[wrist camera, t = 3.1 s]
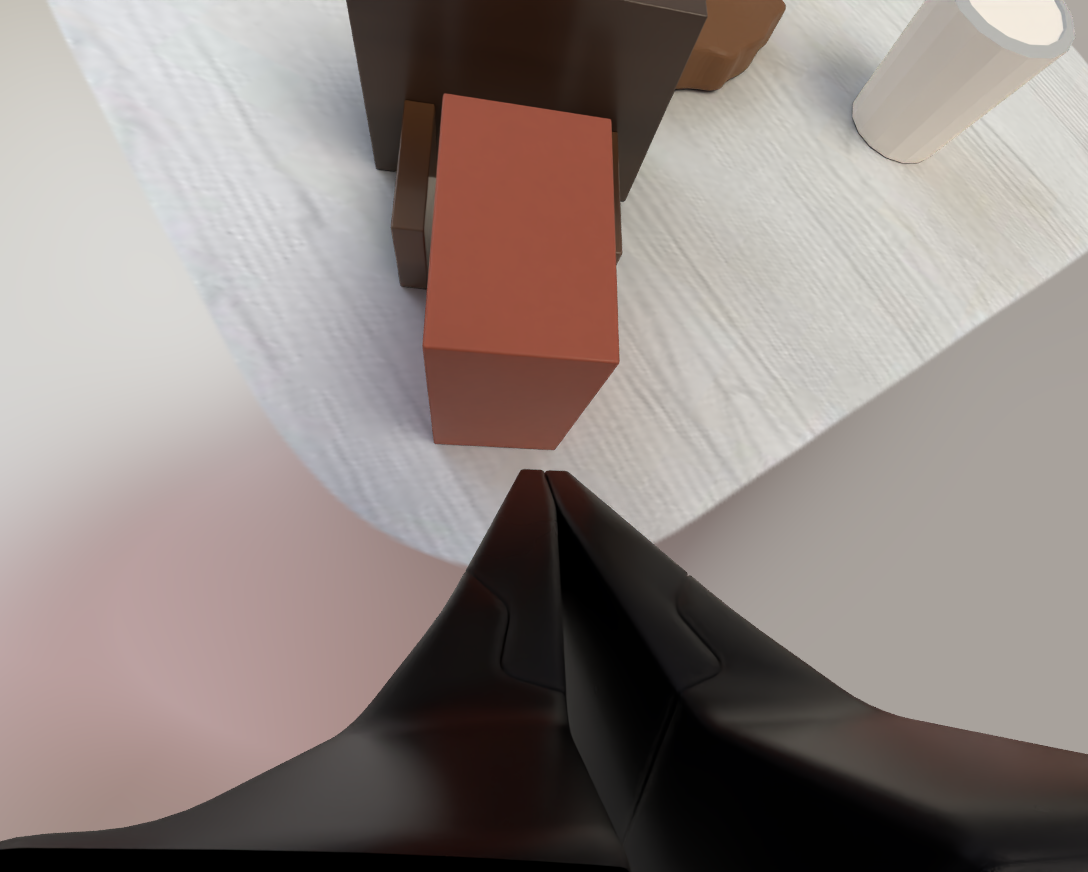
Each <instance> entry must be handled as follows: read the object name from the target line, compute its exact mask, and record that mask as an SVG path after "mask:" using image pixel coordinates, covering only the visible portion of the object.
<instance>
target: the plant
mask: <svg viewBox="0 0 1088 872" xmlns="http://www.w3.org/2000/svg"><path fill="white" fill-rule="evenodd" d="M706 5H707V15H708V17H707V19H706V22H705V24H704V26H703V28H702V30H701V33H700V35H699V37H698V39H697V42H696V44H695V46H694V48H693V51H692V53H691V55H690V57H689V59H688V62H687V64H686V66H685V68H684V71H683V73H682V75H681V77H680V80H679V82H678V84H677V86H676V88H675V89H681V88H693V89H701V90H707V91H713V90H717V89H720V88H721V87H722V86H723V85H724V83H725V82H726V81H727V80H729V79H731V78H733V77H736V76H737V75H739V74H740V73H742V72H743V71H744V70H746V69H747V68H748V66H749V65H750V64H751V62H752V60H753V59H754V57H755V55H756V53H757V52H758V50H759V49H760V48H762V47H763V46H764V45H765V44H766V43H767V41H768V40H769V38H770V36H771V34H772V33H773V31H774V29H775V27H776V26H777V24H778V22H779V20H780V19H781V17H782V15H783V13H784V11H785V9H786V5H785V3H784V2H783V1H782V0H706Z"/></svg>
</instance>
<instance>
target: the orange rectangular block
mask: <svg viewBox="0 0 1088 872" xmlns="http://www.w3.org/2000/svg"><path fill="white" fill-rule="evenodd" d="M422 347H423V355H424V364H425V372H426V380H427V389H428V397H429V406H430V414H431V423H432V431H433V440H434V443H435V444H451V445H470V446H489V447H508V448H527V449H546V450H555V449H556V447H557V446H558V445H559V443H560V442H561V441H562V439H563V438H564V437H565V435H566V434H567V433H568V431H569V430H570V429H571V427H572V426H573V424H574V423H575V422H576V420H577V419H578V418H579V416H580V415H581V414H582V412H583V411H584V410H585V408H586V407H587V406H588V404H589V403H590V402H591V400H592V399H593V398H594V396H595V395H596V394H597V392H598V391H599V390H600V388H601V387H602V385H603V384H604V383H605V381H606V380H607V379H608V377H609V376H610V375H611V373H612V372H613V371H614V369H615V368H616V367H617V365H618V364H619V334H618V304H617V274H616V244H615V214H614V184H613V154H612V124H611V120H610V119H607V118H600V117H594V116H588V115H581V114H575V113H568V112H562V111H556V110H549V109H543V108H536V107H530V106H523V105H517V104H511V103H504V102H498V101H491V100H485V99H479V98H472V97H466V96H459V95H453V94H447V93H445V94H444V95H443V99H442V112H441V124H440V136H439V148H438V161H437V173H436V185H435V198H434V210H433V222H432V234H431V247H430V259H429V271H428V283H427V296H426V308H425V320H424V333H423V345H422Z"/></svg>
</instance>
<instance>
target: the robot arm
mask: <svg viewBox="0 0 1088 872" xmlns="http://www.w3.org/2000/svg"><path fill="white" fill-rule="evenodd" d="M0 872H1088V754H1083V753H1078V752H1073V751H1068V750H1063V749H1058V748H1053V747H1048V746H1043V745H1038V744H1033V743H1028V742H1023V741H1018V740H1013V739H1008V738H1003V737H998V736H993V735H988V734H983V733H978V732H973V731H968V730H963V729H958V728H953V727H948V726H943V725H938V724H934V723H929V722H924V721H919V720H913V719H909V718H905V717H900V716H897V715H894V714H891V713H888V712H885V711H882V710H880V709H878V708H876V707H874V706H871V705H869V704H867V703H865V702H863V701H861V700H860V699H858V698H856V697H854V696H852V695H851V694H849V693H848V692H846V691H845V690H843V689H842V688H840V687H839V686H837V685H836V684H835V683H833V682H831V681H830V680H829V679H828V678H826V677H825V676H823V675H822V674H821V673H819V672H818V671H816V670H815V669H813V668H812V667H811V666H809V665H808V664H807V663H805V662H804V661H802V660H801V659H800V658H798V657H797V656H795V655H794V654H793V653H791V652H789V651H788V650H787V649H786V648H784V647H783V646H781V645H780V644H778V643H777V642H775V641H774V640H773V639H771V638H770V637H769V636H767V635H766V634H765V633H763V632H762V631H760V630H759V629H758V628H756V627H755V626H754V625H752V624H751V623H750V622H748V621H747V620H746V619H744V618H743V617H741V616H740V615H739V614H738V613H736V612H735V611H734V610H732V609H731V608H730V607H728V606H727V605H726V604H725V603H724V602H722V601H721V600H720V599H719V598H717V597H716V596H715V595H714V594H712V593H711V592H709V590H707V589H706V588H705V587H704V586H703V585H701V584H700V583H699V582H698V581H697V580H696V579H694V578H693V577H692V576H687V572H686V571H685V570H683V569H682V568H681V567H680V566H679V565H678V564H676V563H675V562H674V561H673V560H672V559H670V558H669V557H668V556H667V555H666V554H665V553H663V552H662V551H661V550H660V549H659V548H657V547H656V546H655V545H654V544H653V543H652V542H650V541H649V540H648V539H647V538H646V537H644V536H643V535H642V534H641V533H640V532H639V531H637V530H636V529H635V528H634V527H633V526H631V525H630V524H629V523H628V522H627V521H626V520H624V519H623V518H622V517H621V516H620V515H618V514H617V513H616V512H615V511H614V510H613V509H611V508H610V507H609V506H608V505H607V504H605V503H604V502H603V501H602V500H601V499H600V498H598V497H597V496H596V495H595V494H594V493H592V492H591V491H590V490H589V489H588V488H587V487H585V486H584V485H583V484H582V483H581V482H579V481H578V480H577V479H576V478H575V477H574V476H572V475H571V474H570V473H569V472H567V471H552V470H549V471H546V472H545V473H544V471H542V470H530V469H523V470H521V471H520V472H519V474H518V476H517V478H516V480H515V482H514V483H513V485H512V487H511V489H510V491H509V493H508V494H507V496H506V498H505V500H504V502H503V504H502V505H501V507H500V509H499V511H498V513H497V514H496V516H495V518H494V520H493V522H492V524H491V525H490V527H489V529H488V531H487V533H486V535H485V536H484V538H483V540H482V542H481V544H480V546H479V547H478V549H477V551H476V553H475V555H474V557H473V558H472V560H471V562H470V564H469V566H468V567H467V569H466V572H465V573H464V574H463V576H462V578H461V580H460V582H459V584H458V585H457V587H456V589H455V590H454V592H453V594H452V595H451V597H450V599H449V600H448V602H447V604H446V605H445V607H444V608H443V610H442V611H441V613H440V614H439V616H438V617H437V618H436V620H435V621H434V623H433V624H432V625H431V627H430V628H429V629H428V631H427V632H426V634H425V635H424V636H423V637H422V639H421V640H420V641H419V642H418V644H417V645H416V646H415V647H414V649H413V650H412V651H411V653H410V654H409V655H408V656H407V658H406V659H405V660H404V661H403V663H402V664H401V665H400V667H399V668H398V669H397V670H396V672H395V673H394V674H393V675H392V677H391V678H390V679H389V680H388V682H387V683H386V684H385V686H384V687H383V688H382V690H381V691H380V692H379V693H378V694H377V696H376V697H375V698H374V700H373V701H372V702H371V703H370V704H369V705H368V707H367V708H366V709H365V710H364V711H363V713H362V714H361V715H360V716H359V717H358V718H357V719H356V720H355V721H354V722H353V723H351V724H350V725H349V726H348V727H347V728H346V729H345V730H343V731H342V732H341V733H339V734H338V735H337V736H335V737H333V738H331V739H330V740H328V741H326V742H324V743H322V744H320V745H318V746H316V747H314V748H312V749H310V750H308V751H306V752H304V753H302V754H300V755H298V756H296V757H294V758H292V759H290V760H288V761H286V762H284V763H282V764H280V765H278V766H276V767H274V768H272V769H270V770H268V771H266V772H264V773H262V774H260V775H258V776H256V777H254V778H252V779H250V780H248V781H246V782H245V783H242V784H240V785H239V786H237V787H235V788H233V789H231V790H229V791H227V792H225V793H223V794H221V795H219V796H217V797H215V798H213V799H211V800H209V801H207V802H204V803H202V804H200V805H197V806H195V807H193V808H191V809H188V810H186V811H183V812H180V813H177V814H174V815H171V816H168V817H165V818H162V819H159V820H156V821H151V822H147V823H142V824H138V825H133V826H129V827H124V828H116V829H108V830H99V831H86V832H69V833H53V834H40V835H32V836H24V837H16V838H12V839H8V840H4V841H1V842H0Z"/></svg>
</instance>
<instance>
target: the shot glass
mask: <svg viewBox="0 0 1088 872" xmlns="http://www.w3.org/2000/svg"><path fill="white" fill-rule="evenodd" d="M1074 37H1075V30H1074V23H1073V16H1072V14H1071V12H1070V11H1069V9H1068V7H1067V5H1066V3H1065V2H1064V0H925V1H924V2H923V4H922V5H921V7H920V8H919V10H918V11H917V12H916V14H915V15H914V17H913V18H912V19H911V21H910V22H909V24H908V25H907V27H906V28H905V29H904V31H903V32H902V34H901V35H900V37H899V38H898V39H897V41H896V42H895V44H894V45H893V46H892V48H891V49H890V51H889V52H888V54H887V55H886V56H885V58H884V59H883V61H882V62H881V64H880V65H879V66H878V68H877V69H876V71H875V72H874V73H873V75H872V76H871V78H870V79H869V81H868V82H867V83H866V85H865V86H864V88H863V89H862V90H861V92H860V93H859V95H858V96H857V98H856V99H855V101H854V102H853V115H852V117H853V120H854V122H855V125H856V127H857V130H858V132H859V133H860V135H861V136H862V137H863V138H864V140H865V141H866V142H867V143H868V144H869V146H870V147H872V148H873V149H875V150H876V151H878V152H879V153H880V154H882V155H883V156H885V157H886V158H889V159H892V160H895V161H898V162H901V163H919V162H921V161H923V160H925V159H927V158H929V157H931V156H932V155H933V154H935V153H936V152H937V151H938V150H940V149H941V148H942V147H944V146H945V145H946V144H948V143H949V142H950V141H951V140H953V139H954V138H955V137H957V136H958V135H959V134H961V133H962V132H963V131H964V130H966V129H967V128H968V127H970V126H971V125H972V124H974V123H975V122H976V121H977V120H979V119H980V118H981V117H983V116H984V115H985V114H987V113H988V112H989V111H990V110H992V109H993V108H994V107H996V106H997V105H998V104H1000V103H1001V102H1002V101H1004V100H1005V99H1006V98H1007V97H1009V96H1010V95H1011V94H1013V93H1014V92H1015V91H1017V90H1018V89H1019V88H1020V87H1022V86H1023V85H1024V84H1026V83H1027V82H1028V81H1030V80H1031V79H1032V78H1033V77H1035V76H1036V75H1037V74H1039V73H1040V72H1041V71H1043V70H1044V69H1045V68H1046V67H1048V66H1049V65H1050V64H1052V63H1053V62H1054V61H1056V60H1057V59H1058V58H1059V57H1061V56H1062V55H1063V54H1065V53H1066V52H1067V51H1068V50H1069V48H1070V46H1071V44H1072V42H1073V40H1074Z"/></svg>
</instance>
